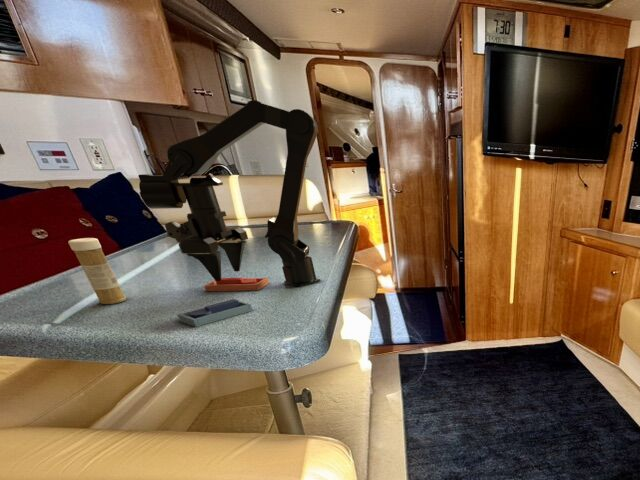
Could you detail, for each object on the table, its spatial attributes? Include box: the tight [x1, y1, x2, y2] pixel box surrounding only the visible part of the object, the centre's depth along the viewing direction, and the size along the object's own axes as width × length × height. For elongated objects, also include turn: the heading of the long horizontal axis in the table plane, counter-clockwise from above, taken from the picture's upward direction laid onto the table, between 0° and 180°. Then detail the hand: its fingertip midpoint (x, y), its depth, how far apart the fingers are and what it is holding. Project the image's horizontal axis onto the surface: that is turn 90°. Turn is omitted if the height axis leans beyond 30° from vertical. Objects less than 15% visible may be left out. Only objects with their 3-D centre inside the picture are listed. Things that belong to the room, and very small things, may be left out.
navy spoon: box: [190, 298, 240, 319], centre depth 82 cm, size 9×4×2 cm, turn 150°
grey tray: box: [176, 300, 254, 328], centre depth 82 cm, size 11×6×1 cm, turn 150°
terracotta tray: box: [203, 277, 270, 292], centre depth 100 cm, size 12×6×1 cm, turn 96°
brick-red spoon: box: [216, 277, 257, 285], centre depth 100 cm, size 9×4×2 cm, turn 96°
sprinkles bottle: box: [67, 237, 127, 305], centre depth 86 cm, size 5×5×14 cm
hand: (228, 275), depth 99 cm, fingers open, 9 cm apart
